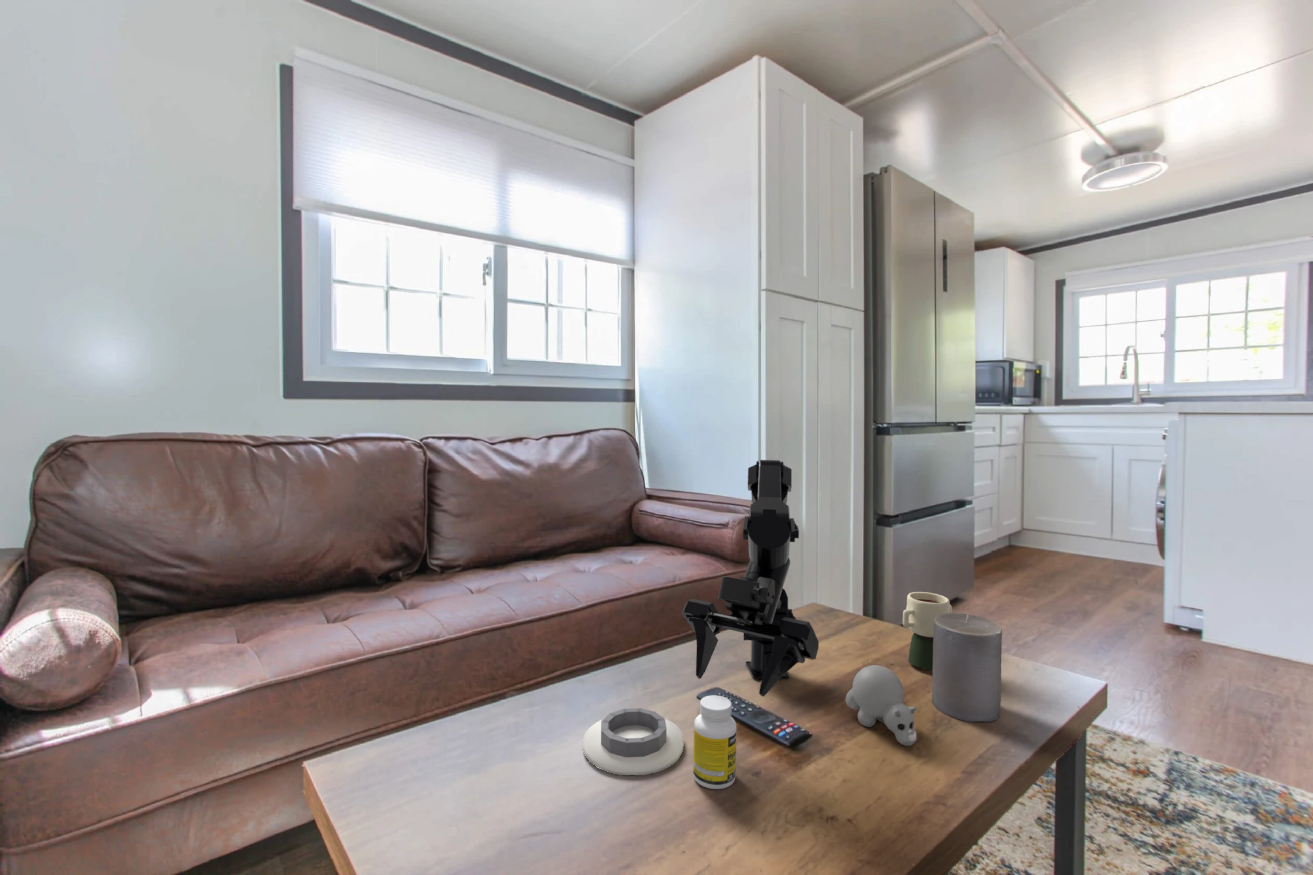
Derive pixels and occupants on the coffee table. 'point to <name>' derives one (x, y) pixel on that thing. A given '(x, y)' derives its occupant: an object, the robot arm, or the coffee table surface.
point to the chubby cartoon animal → (882, 702)
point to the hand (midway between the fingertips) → (728, 685)
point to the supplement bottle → (715, 743)
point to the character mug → (923, 625)
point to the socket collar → (633, 742)
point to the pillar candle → (967, 667)
